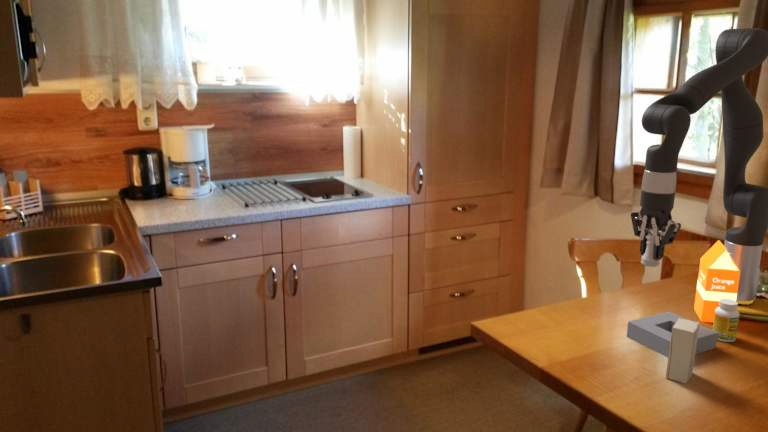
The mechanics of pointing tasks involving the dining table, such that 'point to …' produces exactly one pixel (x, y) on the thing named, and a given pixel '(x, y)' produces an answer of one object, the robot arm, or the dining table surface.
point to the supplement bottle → (726, 320)
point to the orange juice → (715, 281)
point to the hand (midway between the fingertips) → (650, 256)
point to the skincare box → (682, 350)
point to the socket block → (666, 333)
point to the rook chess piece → (650, 252)
